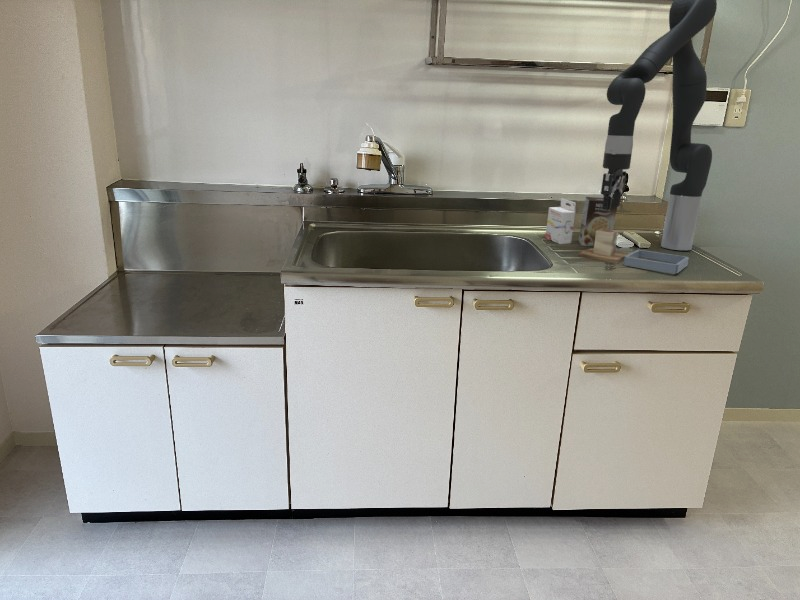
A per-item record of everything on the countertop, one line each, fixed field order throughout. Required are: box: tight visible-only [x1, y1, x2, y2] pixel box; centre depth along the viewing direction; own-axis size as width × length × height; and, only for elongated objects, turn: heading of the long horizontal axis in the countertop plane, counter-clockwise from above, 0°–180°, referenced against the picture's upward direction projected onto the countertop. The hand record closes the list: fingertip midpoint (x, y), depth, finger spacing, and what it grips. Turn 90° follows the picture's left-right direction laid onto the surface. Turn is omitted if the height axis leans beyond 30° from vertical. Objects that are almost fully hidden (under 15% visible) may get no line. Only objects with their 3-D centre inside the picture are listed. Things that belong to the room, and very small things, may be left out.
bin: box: [622, 249, 690, 275], centre depth 167 cm, size 15×15×2 cm
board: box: [576, 247, 629, 265], centre depth 175 cm, size 12×12×1 cm
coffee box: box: [578, 196, 618, 247], centre depth 187 cm, size 9×6×16 cm
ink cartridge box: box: [544, 197, 577, 245], centre depth 190 cm, size 9×5×15 cm, turn 22°
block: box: [593, 229, 619, 256], centre depth 174 cm, size 5×5×7 cm
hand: (610, 207), depth 171 cm, fingers open, 8 cm apart
